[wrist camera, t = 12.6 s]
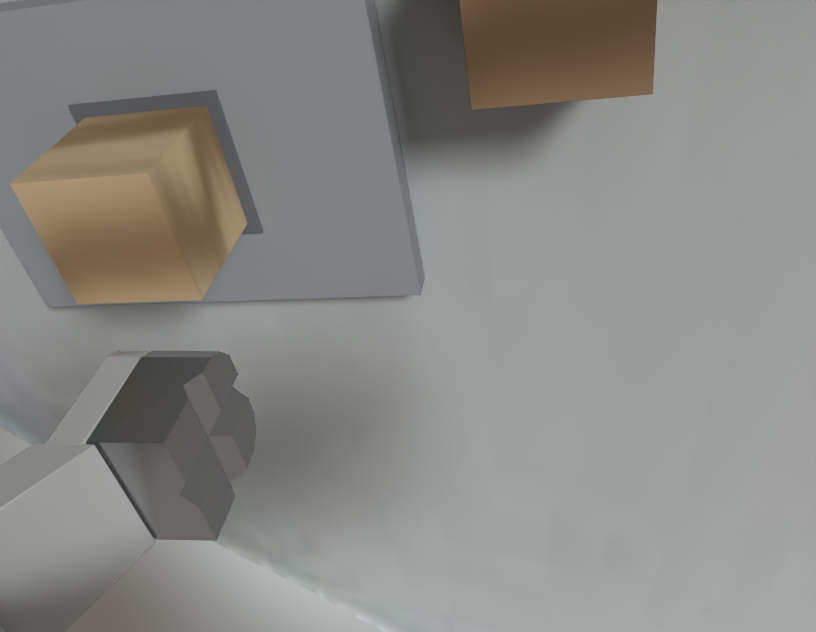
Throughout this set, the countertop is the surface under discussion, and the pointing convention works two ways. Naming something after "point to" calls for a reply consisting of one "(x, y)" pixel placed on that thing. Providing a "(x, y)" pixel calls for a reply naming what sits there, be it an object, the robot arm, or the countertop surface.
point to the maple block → (135, 206)
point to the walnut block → (557, 50)
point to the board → (229, 130)
